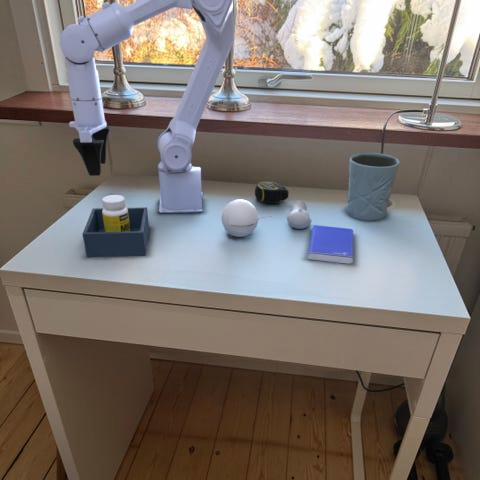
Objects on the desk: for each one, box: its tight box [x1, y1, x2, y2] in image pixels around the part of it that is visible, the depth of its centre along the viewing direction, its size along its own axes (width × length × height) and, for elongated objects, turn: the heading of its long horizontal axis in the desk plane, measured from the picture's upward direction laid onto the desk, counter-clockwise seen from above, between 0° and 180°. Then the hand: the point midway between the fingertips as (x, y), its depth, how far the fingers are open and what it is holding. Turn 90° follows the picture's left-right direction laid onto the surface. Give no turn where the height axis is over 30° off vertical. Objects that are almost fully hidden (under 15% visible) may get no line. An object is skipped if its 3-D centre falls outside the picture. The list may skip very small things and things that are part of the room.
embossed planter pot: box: [346, 152, 401, 222], centre depth 101 cm, size 10×10×12 cm
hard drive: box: [307, 224, 354, 265], centre depth 90 cm, size 2×8×12 cm
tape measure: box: [254, 180, 289, 204], centre depth 109 cm, size 7×7×4 cm
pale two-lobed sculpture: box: [286, 199, 312, 230], centre depth 98 cm, size 4×8×5 cm
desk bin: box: [82, 206, 150, 258], centre depth 89 cm, size 11×12×5 cm
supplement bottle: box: [102, 194, 130, 232], centre depth 88 cm, size 5×5×8 cm
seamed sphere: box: [221, 198, 273, 238], centre depth 92 cm, size 10×7×7 cm
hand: (97, 169), depth 97 cm, fingers open, 7 cm apart
